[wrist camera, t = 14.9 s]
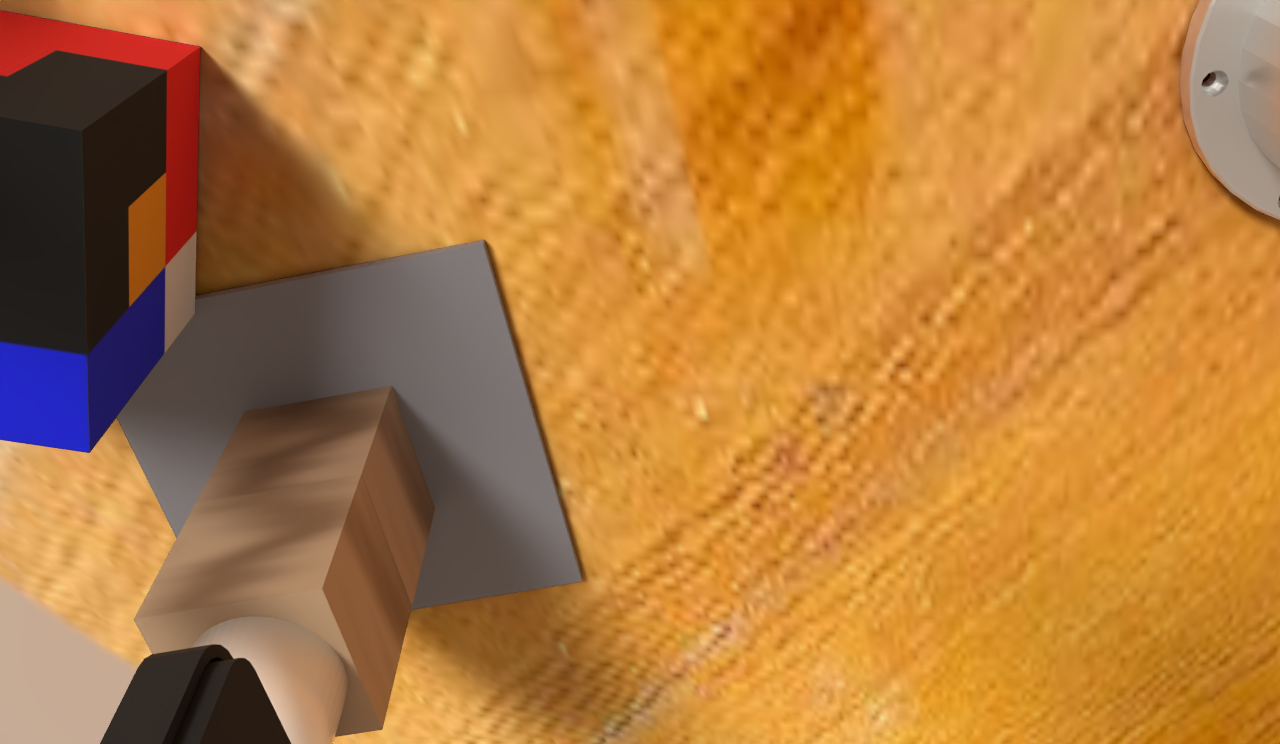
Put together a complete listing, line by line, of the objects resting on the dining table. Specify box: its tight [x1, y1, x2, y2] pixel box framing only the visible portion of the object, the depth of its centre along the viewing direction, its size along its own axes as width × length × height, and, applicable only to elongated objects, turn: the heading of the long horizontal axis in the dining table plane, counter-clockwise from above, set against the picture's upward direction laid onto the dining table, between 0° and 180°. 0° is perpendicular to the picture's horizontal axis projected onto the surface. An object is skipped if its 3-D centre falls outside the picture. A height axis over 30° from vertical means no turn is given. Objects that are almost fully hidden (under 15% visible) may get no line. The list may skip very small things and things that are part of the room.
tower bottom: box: [196, 386, 435, 606], centre depth 46 cm, size 6×6×6 cm
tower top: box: [134, 474, 412, 737], centre depth 40 cm, size 6×6×6 cm
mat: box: [117, 240, 582, 610], centre depth 48 cm, size 16×16×1 cm
